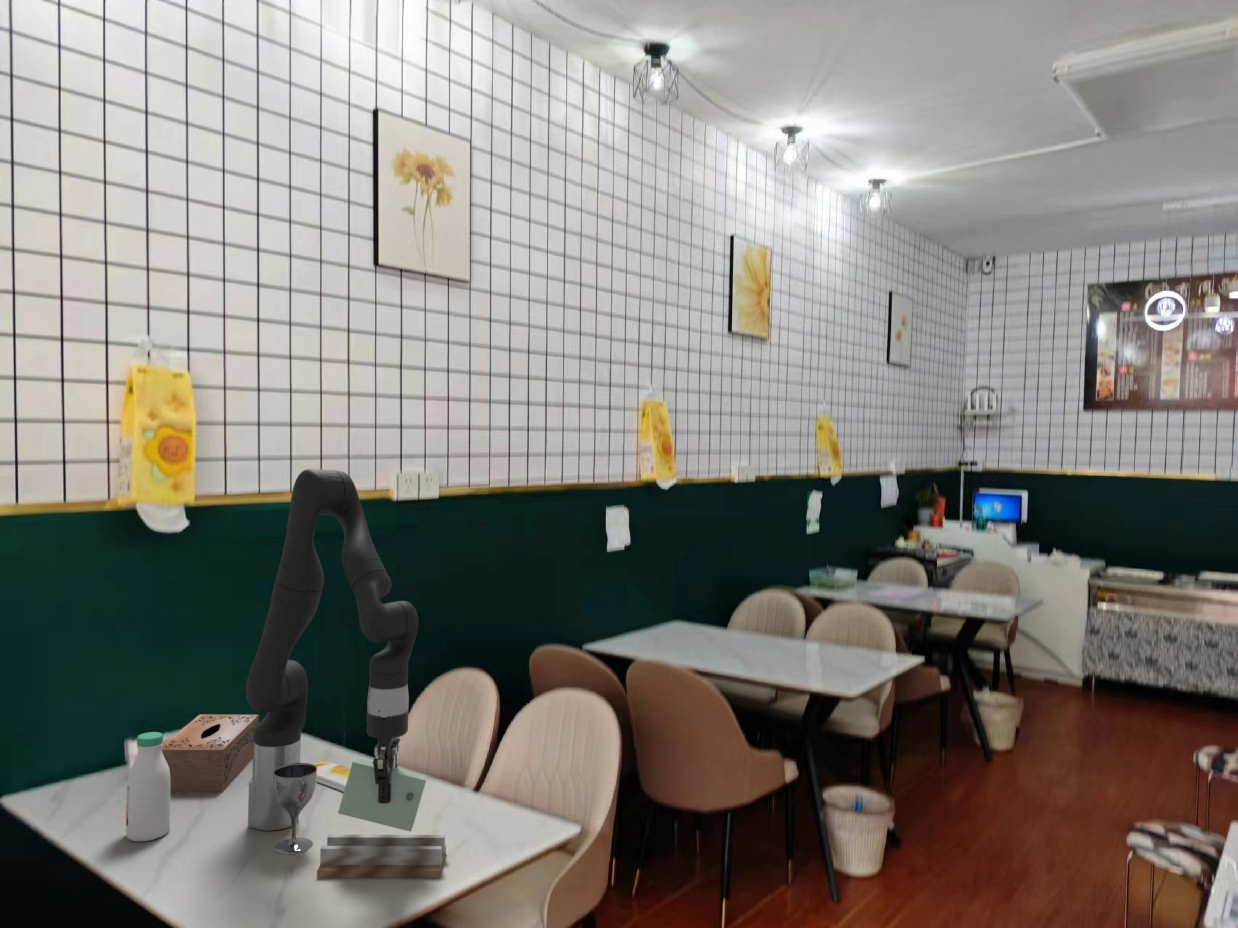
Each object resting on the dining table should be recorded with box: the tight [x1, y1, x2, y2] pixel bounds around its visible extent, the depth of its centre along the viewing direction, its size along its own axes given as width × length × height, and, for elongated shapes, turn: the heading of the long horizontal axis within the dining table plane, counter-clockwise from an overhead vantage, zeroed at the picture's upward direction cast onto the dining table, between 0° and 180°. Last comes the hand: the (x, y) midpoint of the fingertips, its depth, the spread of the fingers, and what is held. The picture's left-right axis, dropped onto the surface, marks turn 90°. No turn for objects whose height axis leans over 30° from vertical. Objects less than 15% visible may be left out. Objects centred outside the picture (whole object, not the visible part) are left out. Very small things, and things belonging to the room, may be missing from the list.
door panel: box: [337, 757, 428, 832], centre depth 167 cm, size 14×3×10 cm, turn 94°
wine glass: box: [273, 762, 317, 855], centre depth 174 cm, size 8×8×15 cm
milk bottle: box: [125, 731, 171, 842], centre depth 177 cm, size 8×8×20 cm
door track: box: [316, 834, 447, 879], centre depth 167 cm, size 22×10×4 cm, turn 94°
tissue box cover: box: [161, 714, 260, 794], centre depth 211 cm, size 26×14×10 cm, turn 5°
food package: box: [312, 760, 351, 793], centre depth 207 cm, size 27×2×10 cm
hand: (385, 799), depth 167 cm, fingers closed on door panel, 2 cm apart
